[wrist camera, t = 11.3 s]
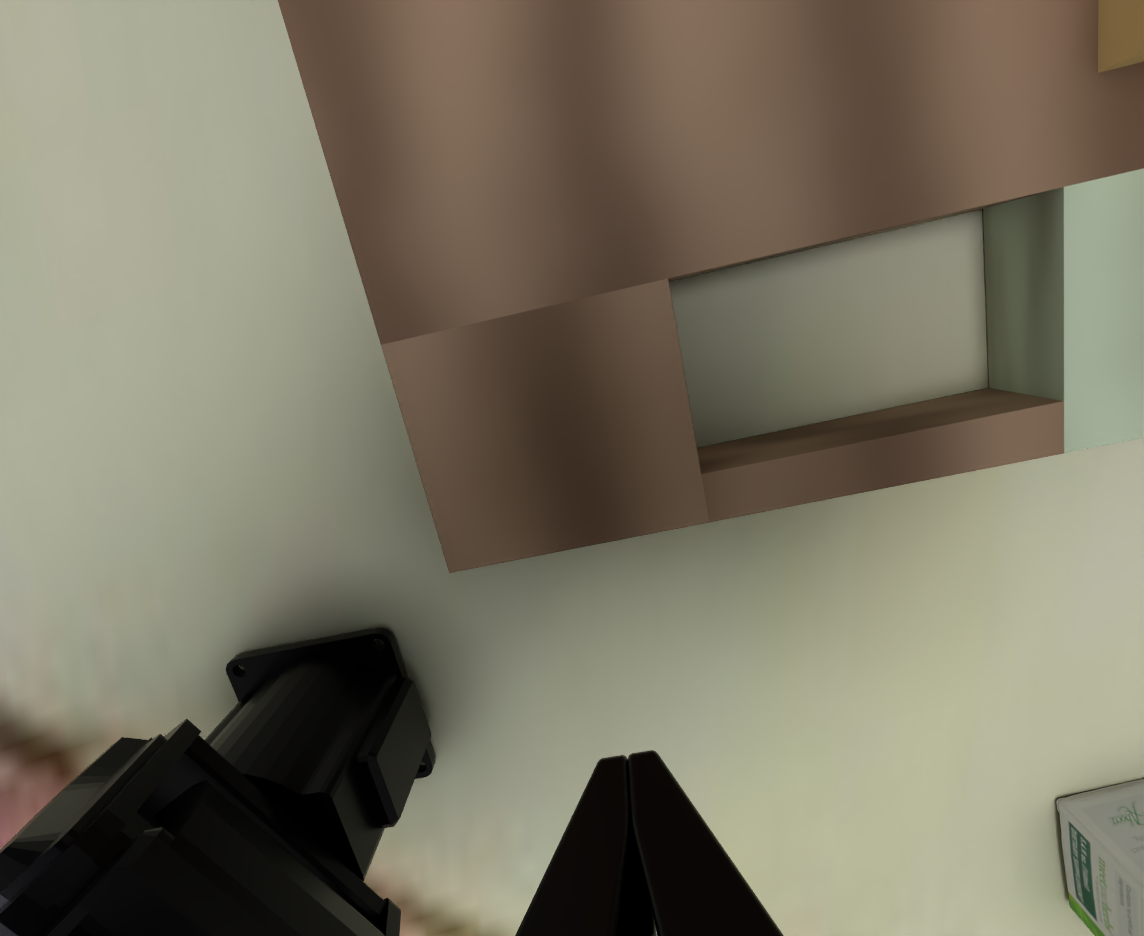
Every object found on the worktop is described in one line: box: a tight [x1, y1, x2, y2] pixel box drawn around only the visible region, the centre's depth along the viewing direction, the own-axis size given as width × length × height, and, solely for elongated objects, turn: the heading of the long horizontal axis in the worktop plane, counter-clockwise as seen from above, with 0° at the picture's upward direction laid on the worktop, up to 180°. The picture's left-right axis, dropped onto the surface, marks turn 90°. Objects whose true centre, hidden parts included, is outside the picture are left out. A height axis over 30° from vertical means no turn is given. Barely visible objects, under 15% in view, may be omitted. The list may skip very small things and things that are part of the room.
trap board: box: [278, 0, 1144, 573], centre depth 15 cm, size 26×24×3 cm
